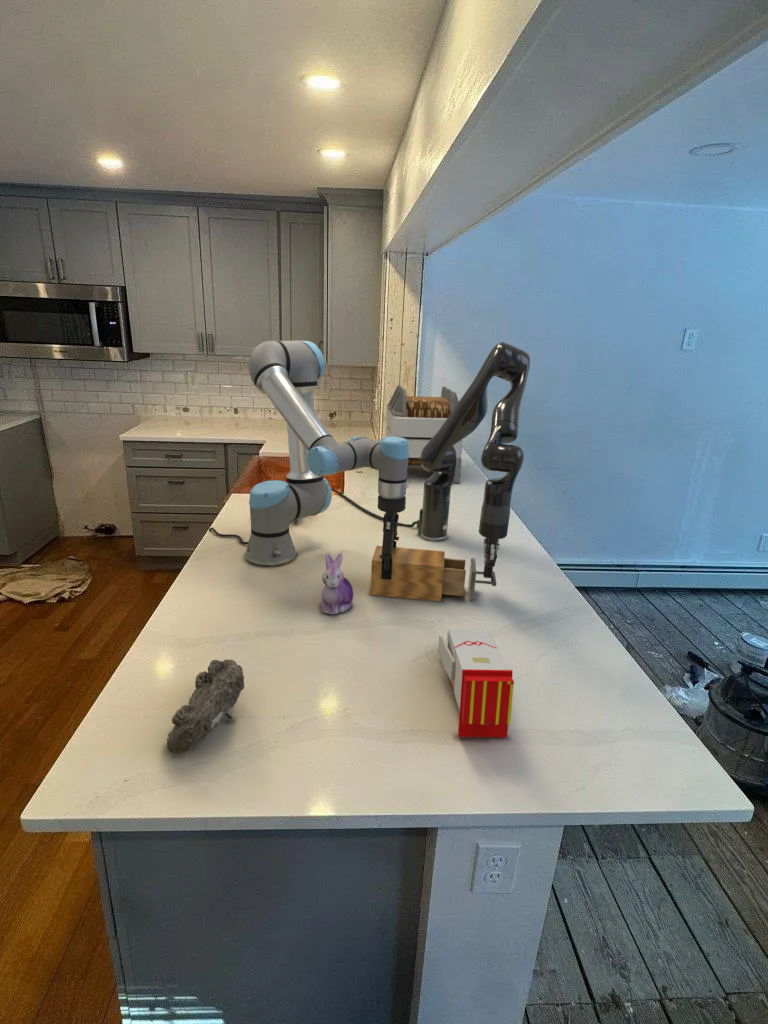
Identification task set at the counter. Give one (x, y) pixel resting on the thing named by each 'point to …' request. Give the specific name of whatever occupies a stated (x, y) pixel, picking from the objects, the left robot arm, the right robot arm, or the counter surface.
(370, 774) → the counter surface
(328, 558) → the figurine
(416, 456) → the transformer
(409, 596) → the cabinet
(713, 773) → the counter surface
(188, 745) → the fossil
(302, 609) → the counter surface
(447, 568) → the drawer
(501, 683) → the toy
